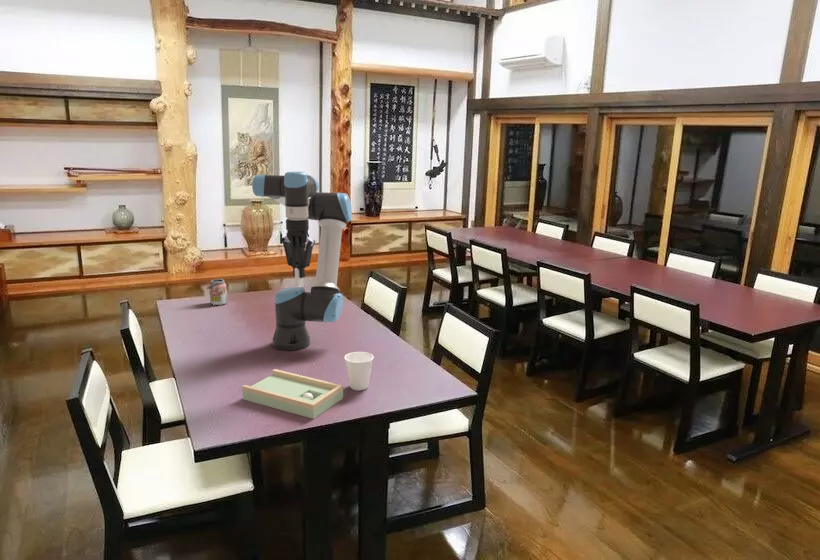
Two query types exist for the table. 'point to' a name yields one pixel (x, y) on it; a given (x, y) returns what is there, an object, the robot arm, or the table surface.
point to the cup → (359, 369)
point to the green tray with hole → (294, 393)
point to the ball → (308, 396)
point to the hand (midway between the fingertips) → (299, 286)
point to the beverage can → (218, 292)
